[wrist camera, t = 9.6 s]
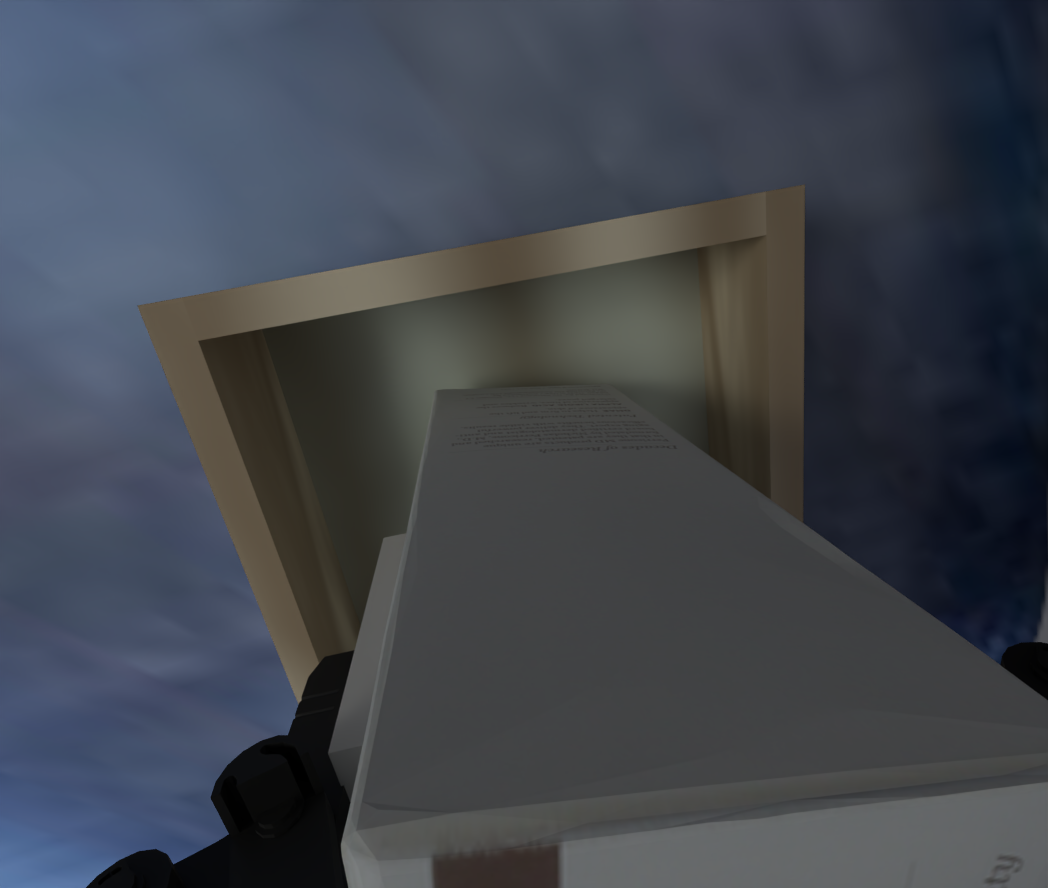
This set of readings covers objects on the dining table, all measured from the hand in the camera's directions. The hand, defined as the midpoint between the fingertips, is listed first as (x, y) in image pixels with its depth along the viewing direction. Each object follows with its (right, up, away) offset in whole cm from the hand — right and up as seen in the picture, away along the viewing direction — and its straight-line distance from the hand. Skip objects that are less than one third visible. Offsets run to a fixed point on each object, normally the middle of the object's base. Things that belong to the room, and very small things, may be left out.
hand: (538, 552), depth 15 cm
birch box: (-1, +2, +6) cm, 6 cm away
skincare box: (-1, +1, +4) cm, 4 cm away
